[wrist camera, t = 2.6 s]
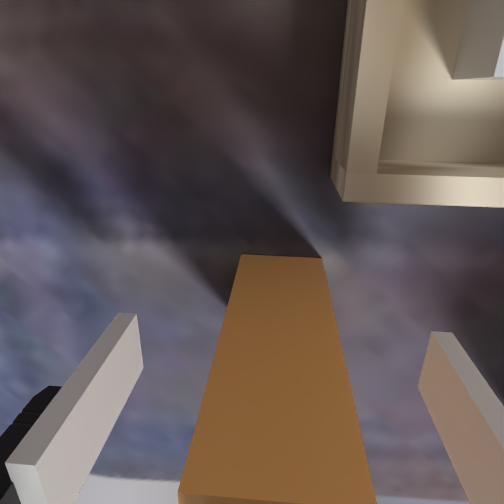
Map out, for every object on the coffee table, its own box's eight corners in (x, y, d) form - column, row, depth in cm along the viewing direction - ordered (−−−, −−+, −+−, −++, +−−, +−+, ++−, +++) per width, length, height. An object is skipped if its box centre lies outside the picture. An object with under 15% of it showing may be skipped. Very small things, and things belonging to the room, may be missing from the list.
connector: (240, 321, 20) (179, 642, 8) (241, 254, 18) (165, 535, 7) (315, 326, 20) (359, 665, 8) (321, 258, 18) (388, 558, 6)
